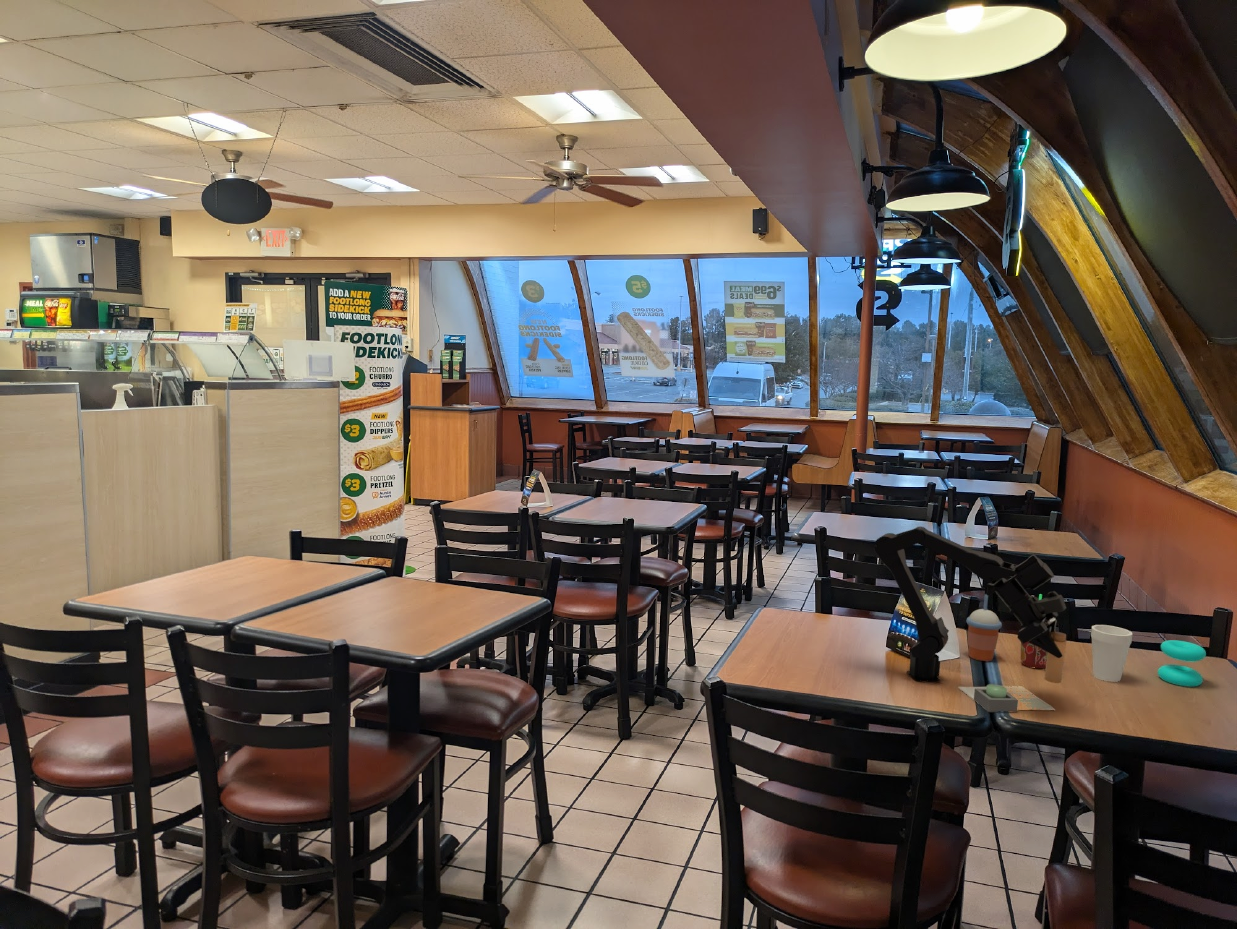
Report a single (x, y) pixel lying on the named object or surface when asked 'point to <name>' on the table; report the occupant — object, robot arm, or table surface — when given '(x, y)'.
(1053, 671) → the tan cylindrical piece
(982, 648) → the cup with straw
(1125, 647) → the foam cup
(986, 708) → the sheet
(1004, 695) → the button
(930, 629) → the robot arm
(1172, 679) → the donuts
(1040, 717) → the table surface
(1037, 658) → the smoothie
